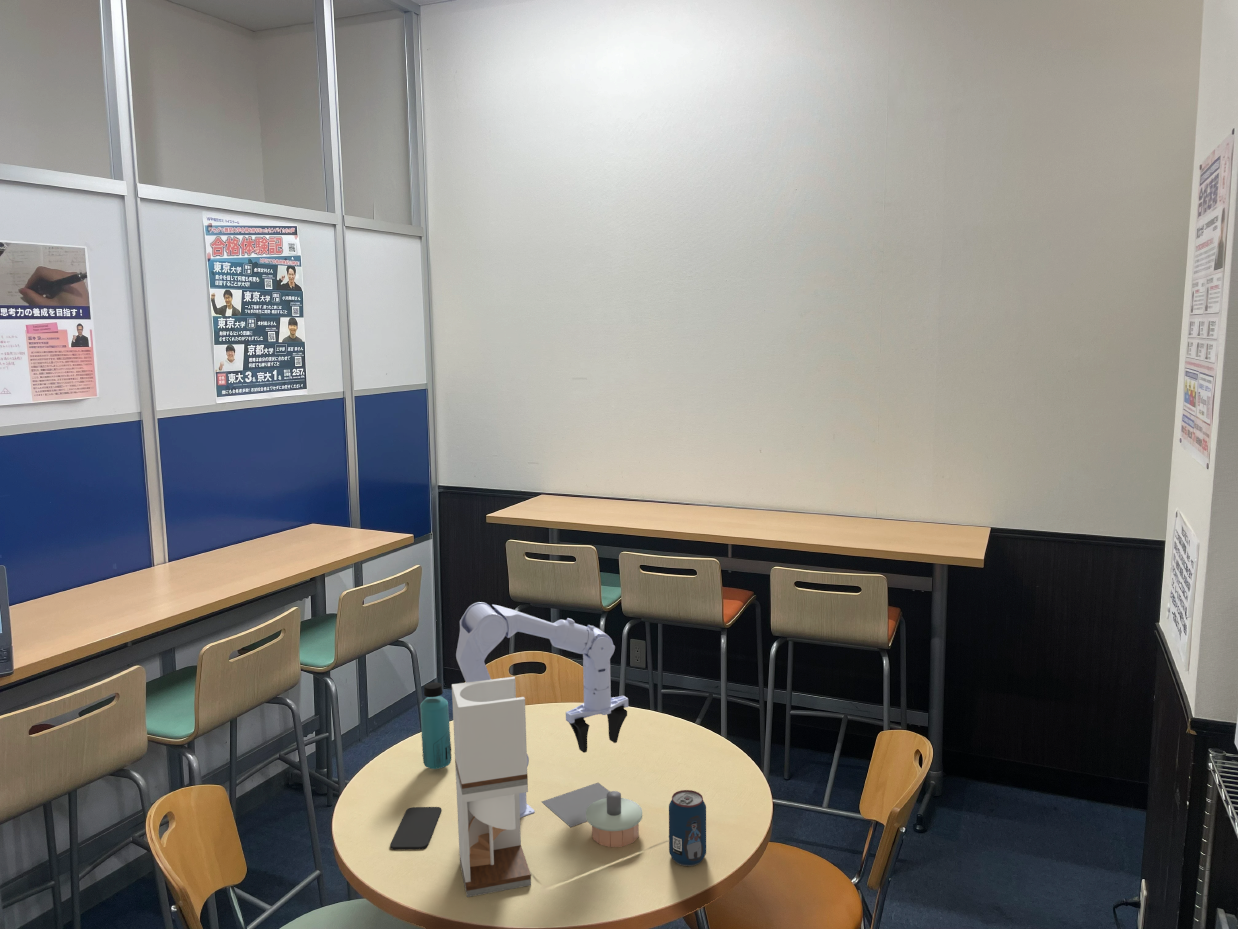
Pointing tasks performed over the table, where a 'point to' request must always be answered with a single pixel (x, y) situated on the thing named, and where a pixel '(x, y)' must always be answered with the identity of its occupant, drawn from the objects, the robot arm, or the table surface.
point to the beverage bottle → (435, 728)
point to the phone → (416, 828)
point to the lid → (614, 813)
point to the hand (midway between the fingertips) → (598, 746)
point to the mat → (576, 803)
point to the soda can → (687, 828)
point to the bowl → (615, 836)
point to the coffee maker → (490, 784)
